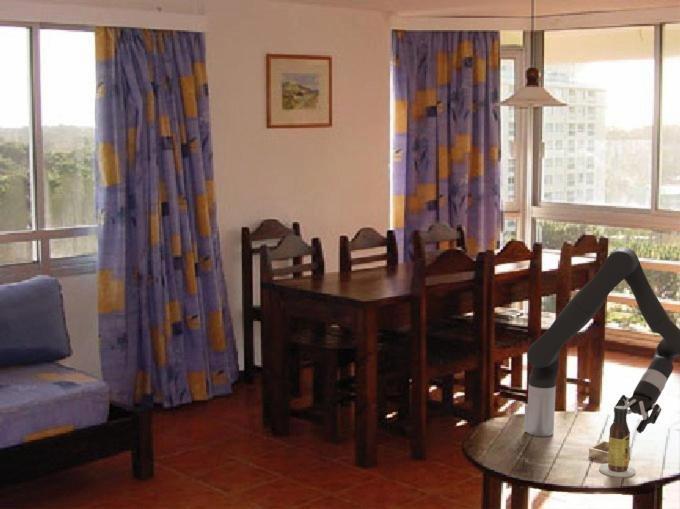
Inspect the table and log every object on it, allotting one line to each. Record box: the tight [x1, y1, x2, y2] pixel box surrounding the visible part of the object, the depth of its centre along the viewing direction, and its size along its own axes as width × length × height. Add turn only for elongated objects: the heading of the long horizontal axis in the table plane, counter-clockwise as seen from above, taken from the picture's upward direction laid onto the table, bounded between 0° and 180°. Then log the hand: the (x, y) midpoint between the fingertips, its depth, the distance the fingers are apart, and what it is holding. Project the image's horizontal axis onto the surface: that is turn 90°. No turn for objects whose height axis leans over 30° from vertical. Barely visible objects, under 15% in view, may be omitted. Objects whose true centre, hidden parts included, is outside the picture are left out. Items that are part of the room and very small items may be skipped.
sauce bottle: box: [607, 405, 631, 472], centre depth 330 cm, size 7×6×20 cm
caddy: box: [588, 440, 631, 463], centre depth 344 cm, size 9×10×3 cm
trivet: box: [598, 462, 636, 478], centre depth 331 cm, size 11×11×1 cm
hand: (626, 428), depth 331 cm, fingers open, 8 cm apart
